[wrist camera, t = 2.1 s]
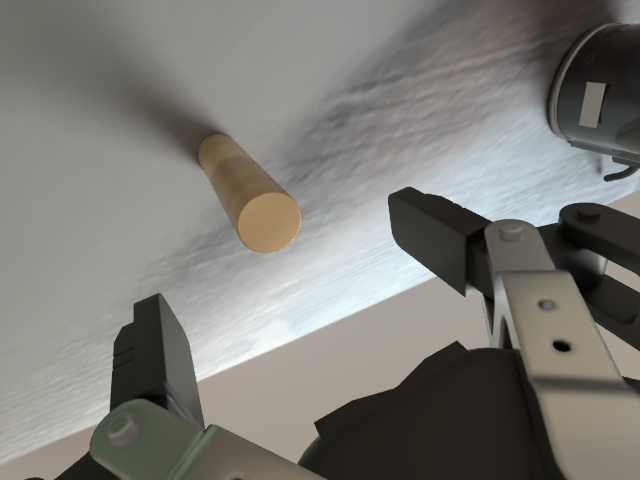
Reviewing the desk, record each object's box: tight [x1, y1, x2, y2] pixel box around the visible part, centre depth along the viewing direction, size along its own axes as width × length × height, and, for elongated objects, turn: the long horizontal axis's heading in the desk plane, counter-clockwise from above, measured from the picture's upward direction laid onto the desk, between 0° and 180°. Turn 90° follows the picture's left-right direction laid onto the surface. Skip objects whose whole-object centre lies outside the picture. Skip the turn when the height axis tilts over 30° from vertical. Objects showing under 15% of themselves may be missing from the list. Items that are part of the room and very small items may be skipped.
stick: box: [198, 134, 301, 253], centre depth 18 cm, size 2×2×10 cm
